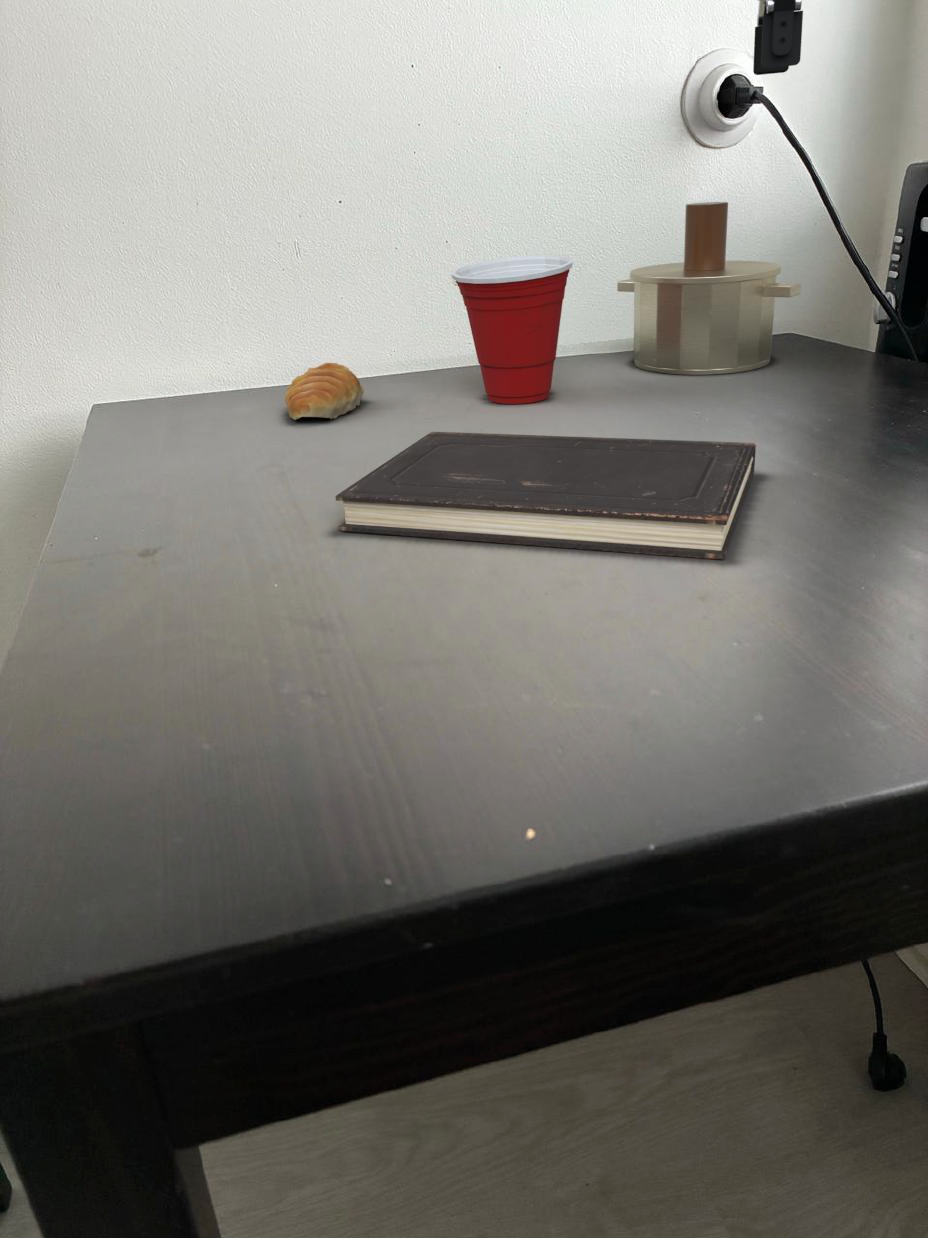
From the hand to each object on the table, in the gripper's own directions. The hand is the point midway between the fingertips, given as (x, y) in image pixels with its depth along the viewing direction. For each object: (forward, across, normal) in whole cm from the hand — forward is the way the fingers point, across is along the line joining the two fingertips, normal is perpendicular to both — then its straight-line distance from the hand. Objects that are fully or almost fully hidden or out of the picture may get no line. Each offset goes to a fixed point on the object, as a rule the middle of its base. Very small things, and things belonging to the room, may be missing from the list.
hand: (775, 69), depth 91 cm
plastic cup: (+26, -16, +23) cm, 38 cm away
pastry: (+26, -20, +40) cm, 51 cm away
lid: (+18, 0, +6) cm, 18 cm away
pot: (+26, 0, +6) cm, 27 cm away
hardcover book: (+26, -46, +16) cm, 55 cm away
